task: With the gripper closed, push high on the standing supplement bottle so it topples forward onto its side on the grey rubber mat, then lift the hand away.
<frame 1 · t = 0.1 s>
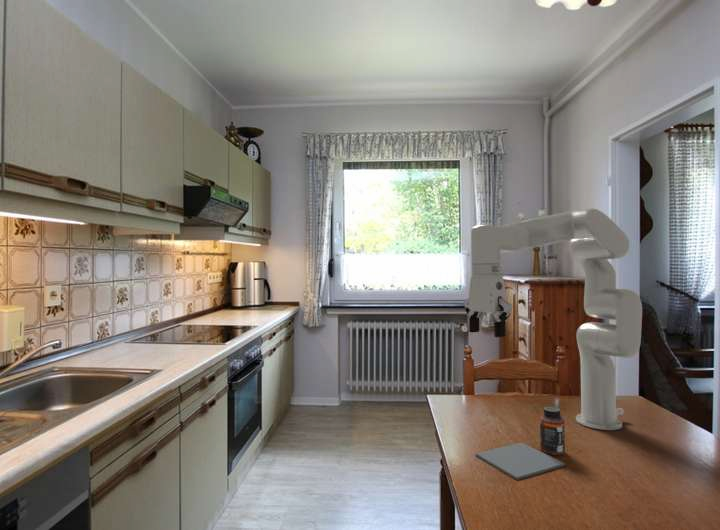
hand: (486, 334, 112), 31 cm above the table, tool pointing down, fingers open, 9 cm apart
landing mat: (519, 460, 105), on the table
supplement bottle: (552, 452, 110), on the table
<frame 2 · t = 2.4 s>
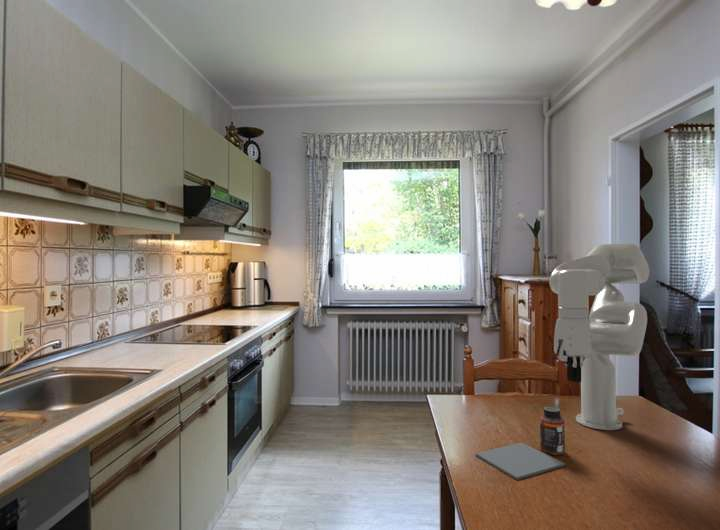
hand: (574, 380, 114), 18 cm above the table, tool pointing down, fingers closed
nothing on the table moved.
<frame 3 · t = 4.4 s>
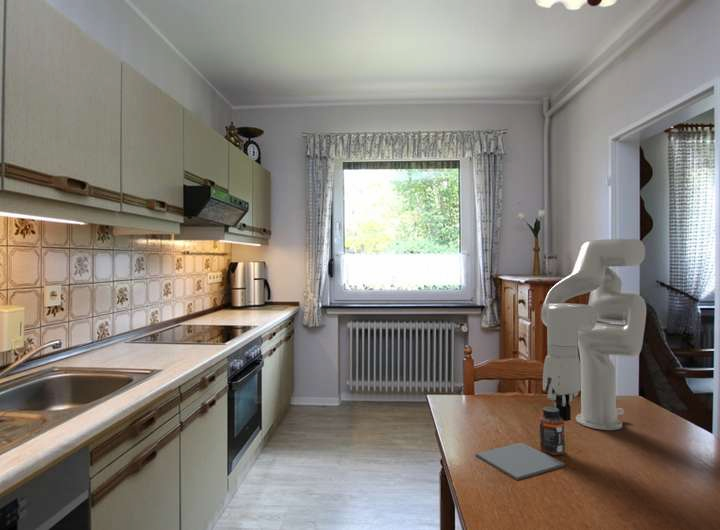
hand: (563, 419, 112), 8 cm above the table, tool pointing down, fingers closed
supplement bottle: (552, 452, 110), on the table, touching gripper
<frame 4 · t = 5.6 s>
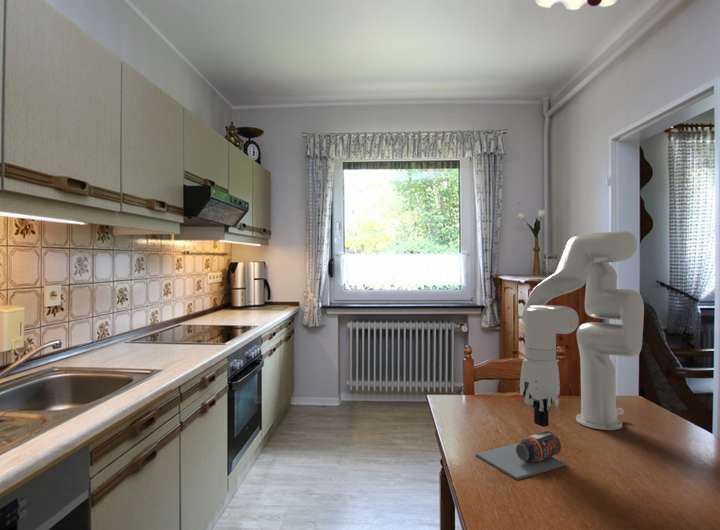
hand: (541, 424, 109), 8 cm above the table, tool pointing down, fingers closed
supplement bottle: (552, 442, 107), point 4 cm above the table, touching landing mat
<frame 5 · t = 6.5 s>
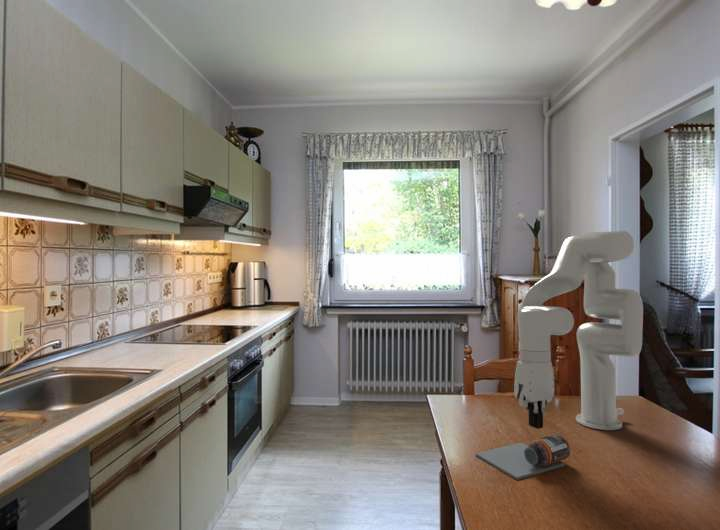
hand: (535, 426, 108), 8 cm above the table, tool pointing down, fingers closed
supplement bottle: (561, 446, 105), point 4 cm above the table, touching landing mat
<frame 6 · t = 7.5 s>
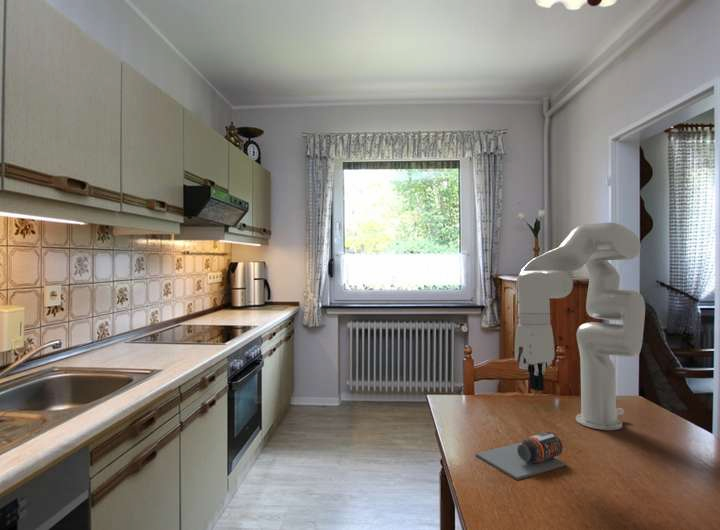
hand: (536, 389, 108), 17 cm above the table, tool pointing down, fingers closed
supplement bottle: (553, 443, 107), point 4 cm above the table, touching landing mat
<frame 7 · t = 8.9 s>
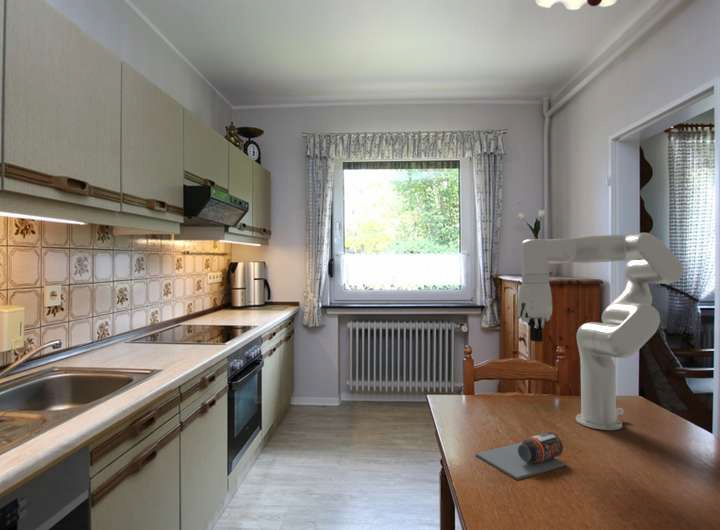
hand: (536, 340, 125), 27 cm above the table, tool pointing down, fingers closed
nothing on the table moved.
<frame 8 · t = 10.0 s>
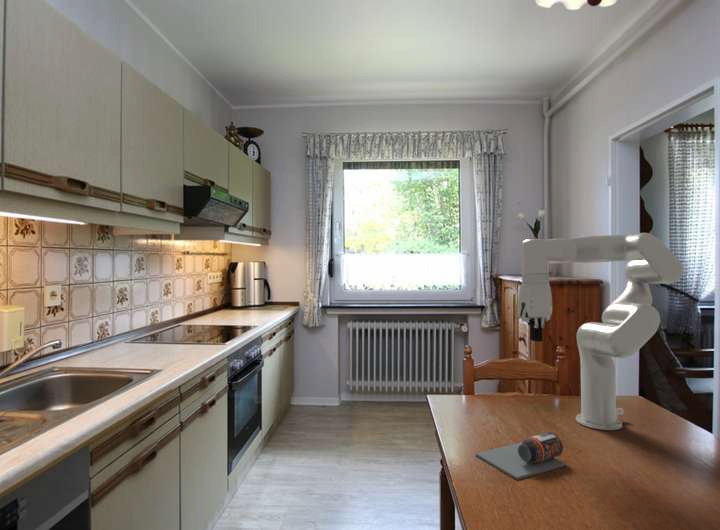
hand: (536, 340, 125), 27 cm above the table, tool pointing down, fingers closed
nothing on the table moved.
at the end: supplement bottle tilted 91°; supplement bottle touching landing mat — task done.
